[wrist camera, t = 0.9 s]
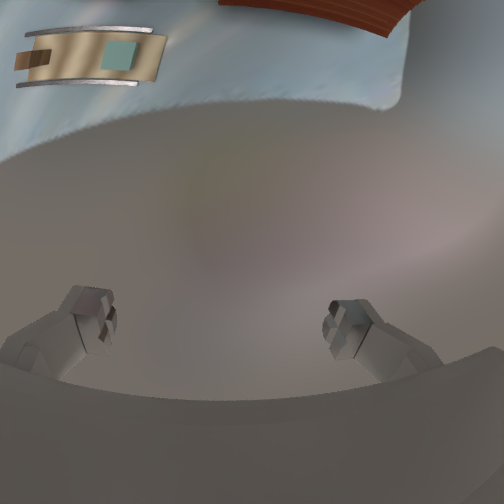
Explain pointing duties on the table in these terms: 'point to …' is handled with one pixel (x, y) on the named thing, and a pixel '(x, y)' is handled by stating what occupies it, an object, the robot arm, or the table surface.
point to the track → (83, 81)
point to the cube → (119, 55)
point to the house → (343, 11)
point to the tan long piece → (89, 56)
